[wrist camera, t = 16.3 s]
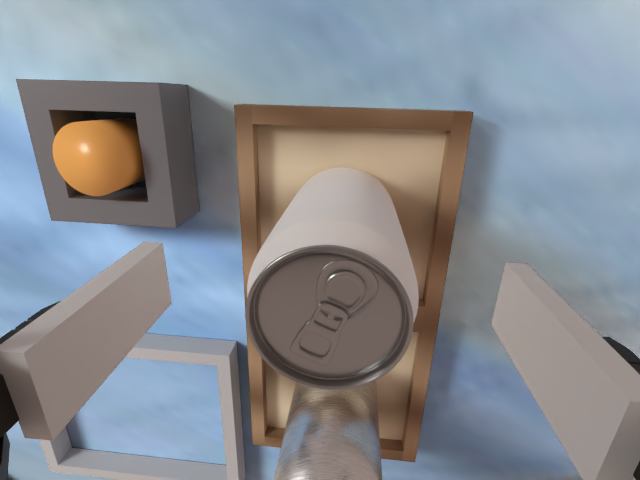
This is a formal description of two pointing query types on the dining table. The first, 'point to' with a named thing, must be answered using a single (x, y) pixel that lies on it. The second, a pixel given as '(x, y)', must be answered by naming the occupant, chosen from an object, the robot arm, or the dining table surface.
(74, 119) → the grey square egg holder
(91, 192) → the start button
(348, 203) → the can
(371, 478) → the billet
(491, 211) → the dining table surface
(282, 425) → the divided wooden tray
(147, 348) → the grey rectangular frame
